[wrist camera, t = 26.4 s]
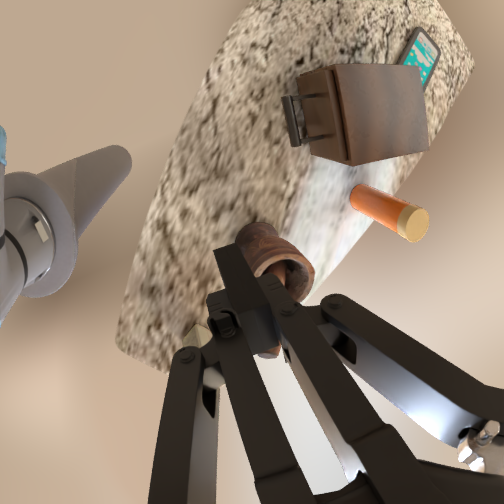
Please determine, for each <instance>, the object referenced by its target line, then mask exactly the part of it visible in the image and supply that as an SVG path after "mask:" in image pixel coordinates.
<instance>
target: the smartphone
mask: <svg viewBox="0 0 504 504" xmlns="http://www.w3.org/2000/svg"><path fill="white" fill-rule="evenodd" d="M440 55H441V51H440V48H439V47H438V46H437V45H436V43H435V42H434V41H433V40H432V38H431V37H430V36H429V35H428V34H427V33H426V31H425V30H424V29H423V28H422V27H416V28H415V30H414V32H413V34H412V36H411V38H410V39H409V41H408V43H407V45H406V47H405V49H404V51H403V53H402V55H401V57H400V58H399V60H398V62H397V64H396V65H411V66H419V70H420V75H421V81H422V87H423V93H424V91H425V89H426V87H427V85H428V83H429V81H430V79H431V76H432V74H433V72H434V70H435V67H436V65H437V63H438V60H439V58H440Z"/></svg>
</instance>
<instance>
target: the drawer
mask: <svg viewBox="0 0 504 504" xmlns="http://www.w3.org/2000/svg"><path fill="white" fill-rule="evenodd" d="M296 80H297V85H298V89H299V94H300V95H299V96H293V97H292V96H291V95H289V96H283V97H281V101H282V105H283V110H284V114H285V119H286V124H287V129H288V134H289V139H290V144H291V147H298V146H301V144H303V143H307V142H309V145H310V150H311V154H312V155H315V156H319V157H323V158H326V159H330V160H333V161H337V162H340V163H342V162H346V161H348V159H347V144H346V138H345V131H344V125H343V119H342V113H341V107H340V102H339V96H338V91H337V86H336V81H335V77H334V76H333V72H332V70H322V71H319V72H315V73H312V74H308V75H305V76H301V77H298V78H296ZM295 100H301V103H302V108H303V113H304V118H305V123H306V128H307V134H308V138H303V139H300V135H299V130H298V125H297V120H296V115H295V110H294V105H293V101H295Z"/></svg>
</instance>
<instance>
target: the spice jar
mask: <svg viewBox="0 0 504 504" xmlns="http://www.w3.org/2000/svg"><path fill="white" fill-rule="evenodd" d="M350 203H351V205H352V207H353V208H354V209H356V210H357V211H359V212H361V213H363V214H365V215H366V216H368V217H370V218H372V219H374V220H375V221H377V222H379V223H381V224H382V225H384V226H386V227H387V228H389V229H391V230H393V231H394V232H396V233H398V234H399V235H400V236H401V237H403V238H405V239H406V240H408V241H410V242H417V241H419V240H420V239H421V238H422V237H423V236H424V235H425V233H426V231H427V229H428V226H429V215H428V213H427V211H426V210H425V209H423V208H421V207H419V206H416V205H413V204H410V203H408V202H406V201H404V200H401V199H399V198H397V197H395V196H392V195H390V194H388V193H385V192H383V191H380V190H378V189H376V188H373V187H371V186H368V185H366V184H359V185H357V186H356V187H355V188H354V189H353V190H352V192H351V195H350Z"/></svg>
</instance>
